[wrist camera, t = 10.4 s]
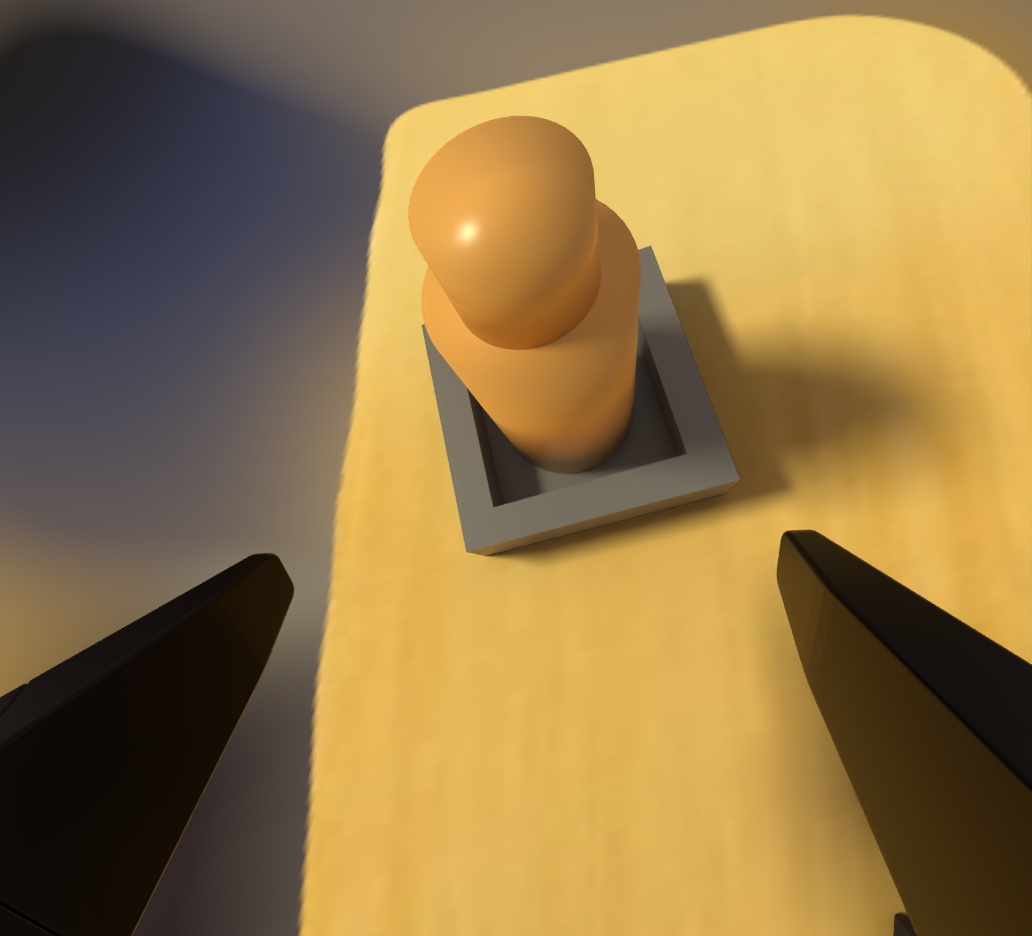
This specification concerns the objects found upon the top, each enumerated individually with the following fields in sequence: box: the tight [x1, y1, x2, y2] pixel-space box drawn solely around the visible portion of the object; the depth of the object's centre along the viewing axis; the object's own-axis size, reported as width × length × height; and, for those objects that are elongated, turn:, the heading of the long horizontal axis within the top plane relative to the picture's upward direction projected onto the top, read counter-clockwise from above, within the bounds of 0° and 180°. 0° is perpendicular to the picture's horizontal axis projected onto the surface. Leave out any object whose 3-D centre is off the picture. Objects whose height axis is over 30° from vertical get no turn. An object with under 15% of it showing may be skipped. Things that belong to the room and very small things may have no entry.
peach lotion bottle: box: [408, 116, 641, 474], centre depth 16 cm, size 6×6×13 cm
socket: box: [422, 246, 740, 556], centre depth 21 cm, size 11×11×3 cm
